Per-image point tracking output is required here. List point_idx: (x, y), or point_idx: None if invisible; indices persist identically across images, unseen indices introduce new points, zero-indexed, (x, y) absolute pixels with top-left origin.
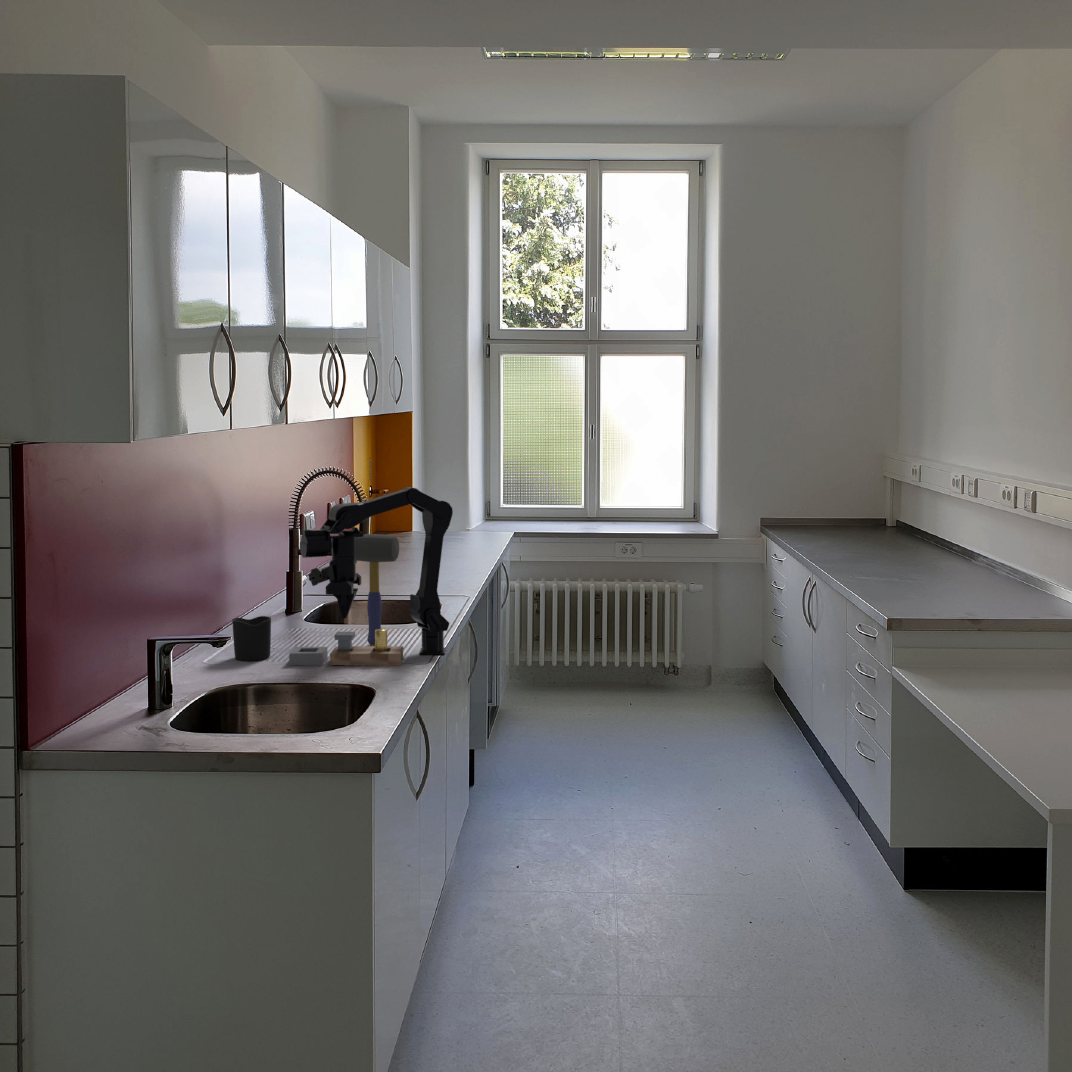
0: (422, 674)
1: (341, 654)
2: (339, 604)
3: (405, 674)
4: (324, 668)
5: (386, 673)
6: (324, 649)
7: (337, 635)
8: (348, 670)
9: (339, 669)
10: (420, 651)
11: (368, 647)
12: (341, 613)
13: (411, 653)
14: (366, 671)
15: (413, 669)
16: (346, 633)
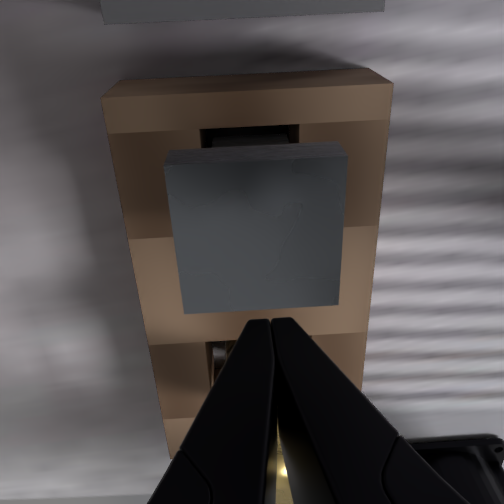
0: (33, 492)
1: (117, 182)
2: (160, 491)
3: (15, 448)
4: (39, 56)
5: (10, 387)
6: (268, 9)
7: (169, 192)
8: (23, 217)
9: (35, 161)
10: (424, 451)
11: (331, 307)
12: (229, 362)
13: (437, 413)
14: (26, 305)
15: (114, 458)
16: (248, 258)
